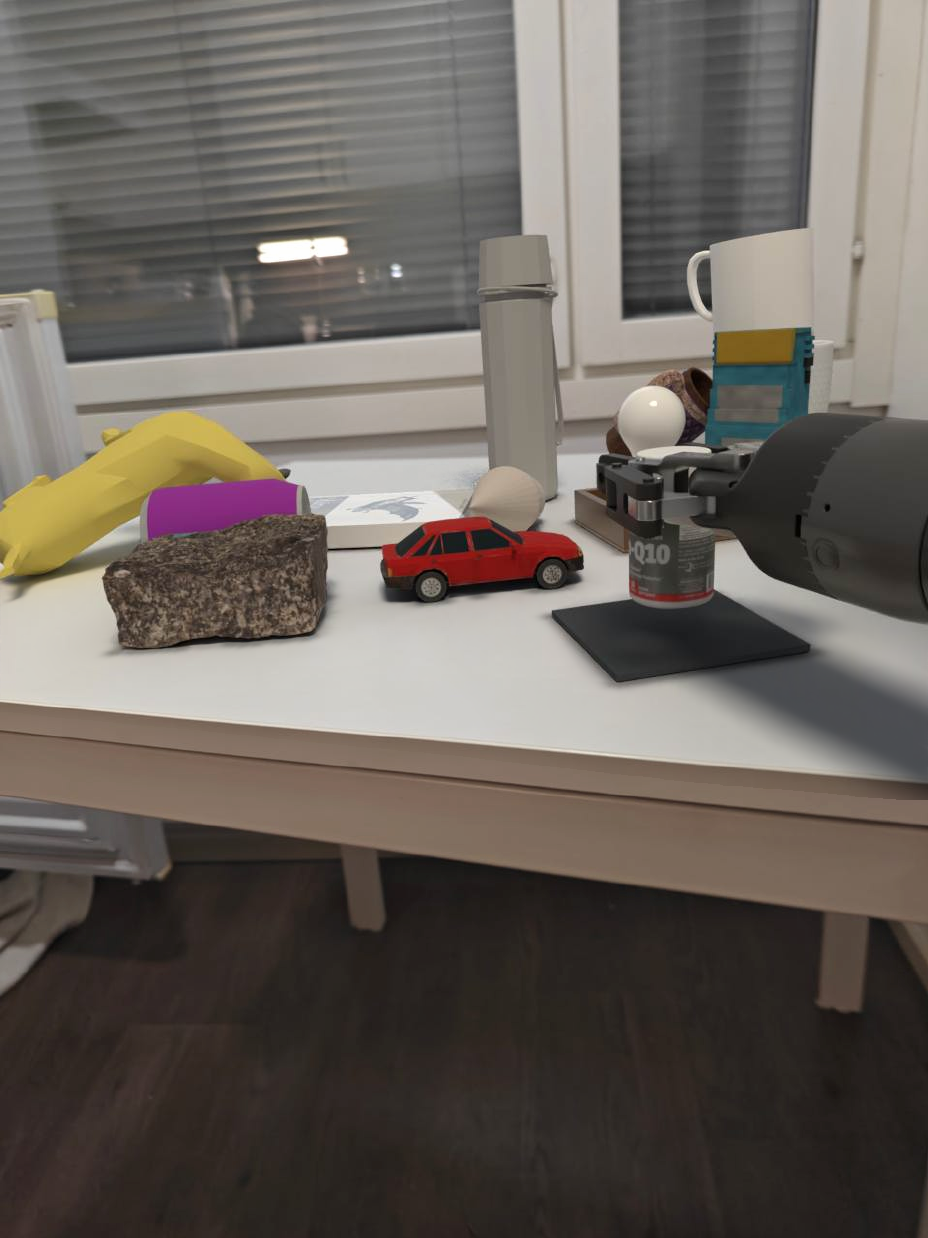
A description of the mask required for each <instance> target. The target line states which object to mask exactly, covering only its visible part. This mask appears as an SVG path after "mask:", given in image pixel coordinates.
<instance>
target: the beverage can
mask: <svg viewBox="0 0 928 1238" xmlns="http://www.w3.org/2000/svg"><path fill="white" fill-rule="evenodd" d="M286 481H287V480H286ZM286 481H282V480H278V479H275V478H271V479H259V480H247V481H235V482H214V483H213V482H212V483H203V484H198V485H186V486H174V487H165V488H160V489H156V490H153V491H152V492H151V494H150V495H149V496H148V497H147V498H146V499H145V501H144V503H143V504H142V508H141V512H140V516H139V535H140V544H142V543H144V542H146V541H148V540H150V539H153V538H156V537H159V536H162V535H164V534H177V533H193V532H209V531H214V530H224V529H226V528H227V527H229V526H231V525H233V524H235V523H241V522H243V521H245V520H253V519H257V518H260V517H262V516H264V515H271V514H277V515H281V514H288V515H305V514H310V513H311V508H310V502H309V498H308V497H309V494H308V490H307V488H306V486H305V485H300V484H297V483H294V482H290V481H287V482H286Z"/></svg>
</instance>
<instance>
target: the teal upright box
mask: <svg viewBox="0 0 928 1238" xmlns="http://www.w3.org/2000/svg"><path fill="white" fill-rule="evenodd" d="M813 340H816V335H812V336H811V327H800V328H780V329H759V330H739V331H722V332H714V337H713V340H712V345H713V348H712V353H713V355H712V361H713V365H712V389H710V409H708V417H707V425H705V432H704V444H710V445H717V446H724V447H728V446H731V445H734V443H747V442H759V441H765V440H766V439H767V438H768V437H769V436H770V435H771V434H772V433H773V432H774V431H776V430H777V429H778V428H779V427H781V426H782V425H784V424H785V423H787V422H789V421H791V420H792V419H795V418H797V417H800V416H803V415H806V414H808V406H809V390H810V377H811V366H813V359H814V353H812V349H814V344H812V342H813Z"/></svg>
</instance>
